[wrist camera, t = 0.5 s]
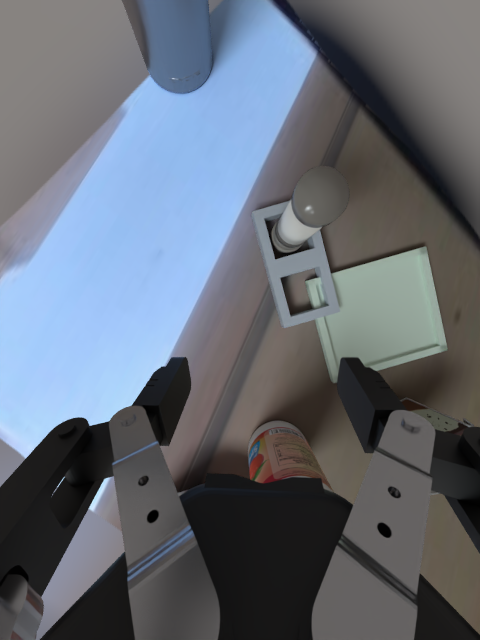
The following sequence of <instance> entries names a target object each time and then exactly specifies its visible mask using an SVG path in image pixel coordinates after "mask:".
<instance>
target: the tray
mask: <svg viewBox="0 0 480 640" xmlns="http://www.w3.org/2000/svg"><path fill="white" fill-rule="evenodd" d="M331 277H332V281H333V285H334V289H335V293H336V297H337V301H338V305H339V309H340V312H338V313H335V314H331V315H328V316H324V317H321V318H317V319H315V322H316V326H317V330H318V334H319V338H320V341H321V345H322V349H323V353H324V357H325V361H326V364H327V368H328V372H329V376H330V380H331V381H332V382H333V383H337V380H338V373H339V366H340V360H341V358H342V357H358V358H359V359H360V360H361V362H362V363H363V365H364V366H365V367H370V368H372V369H373V370H375V371H378V370H382V369H385V368H388V367H392V366H395V365H399V364H402V363H406V362H409V361H412V360H416V359H419V358H423V357H426V356H429V355H433V354H436V353H440V352H443V351H447V350H448V349H447V344H446V339H445V335H444V330H443V325H442V320H441V315H440V311H439V306H438V301H437V296H436V292H435V287H434V282H433V277H432V272H431V268H430V263H429V258H428V253H427V248H426V246H425V247H422V248H418V249H415V250H411V251H408V252H404V253H401V254H397V255H394V256H391V257H387V258H384V259H380V260H377V261H373V262H370V263H366V264H363V265H360V266H356V267H353V268H349V269H346V270H342V271H339V272H335V273H332V274H331ZM305 284H306V288H307V291H308V295H309V299H310V303H311V307H312V309H317V308H321V307H322V306H325V301H324V297H323V293H322V289H321V285H320V284H322V283H321V279H320V277H318V278H315V279H311V280H308V281H305Z"/></svg>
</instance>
